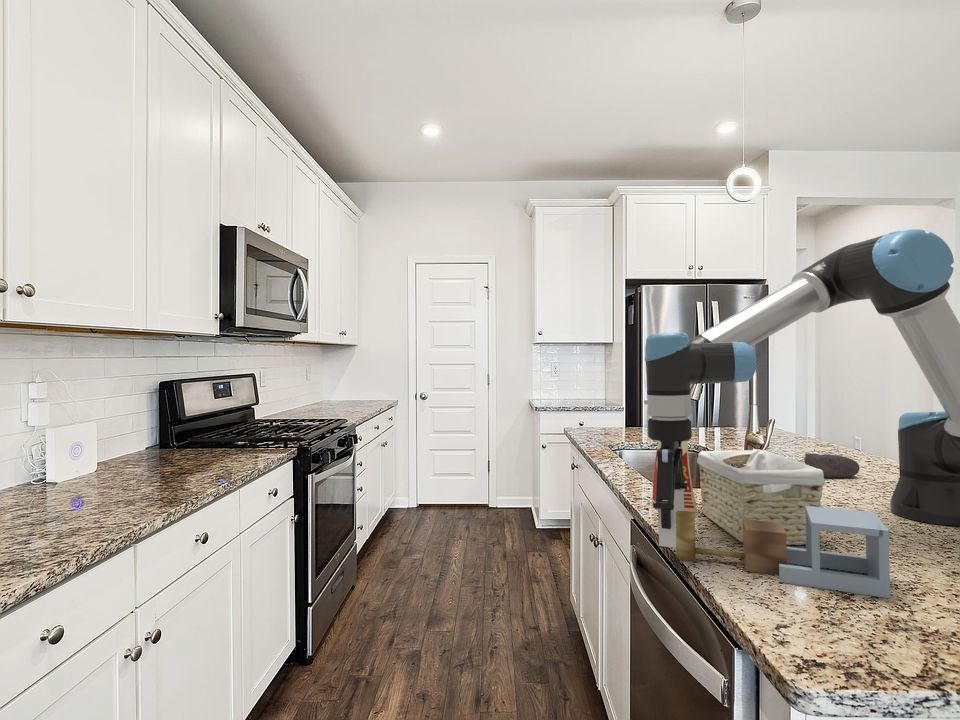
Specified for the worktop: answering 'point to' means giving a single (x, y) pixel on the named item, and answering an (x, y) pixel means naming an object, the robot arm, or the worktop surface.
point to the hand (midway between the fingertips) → (672, 534)
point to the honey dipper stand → (759, 544)
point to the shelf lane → (846, 582)
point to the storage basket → (758, 490)
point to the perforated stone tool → (832, 465)
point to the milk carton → (688, 493)
